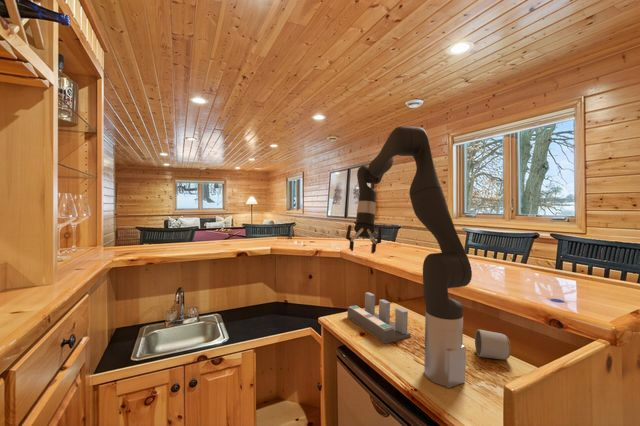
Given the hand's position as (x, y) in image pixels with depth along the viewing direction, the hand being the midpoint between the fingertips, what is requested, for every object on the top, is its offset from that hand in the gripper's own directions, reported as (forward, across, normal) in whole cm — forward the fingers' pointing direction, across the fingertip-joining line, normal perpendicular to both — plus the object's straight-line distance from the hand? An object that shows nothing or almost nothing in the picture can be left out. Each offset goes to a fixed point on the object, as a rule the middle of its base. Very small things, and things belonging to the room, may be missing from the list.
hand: (362, 252), depth 120 cm
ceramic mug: (+27, +37, -27) cm, 53 cm away
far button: (+24, +6, +3) cm, 25 cm away
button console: (+27, +7, -7) cm, 29 cm away
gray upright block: (+25, +10, -6) cm, 27 cm away
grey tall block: (+26, +14, -14) cm, 33 cm away
